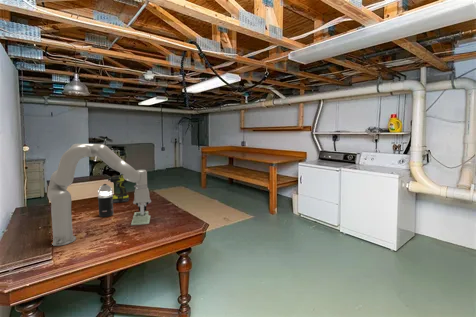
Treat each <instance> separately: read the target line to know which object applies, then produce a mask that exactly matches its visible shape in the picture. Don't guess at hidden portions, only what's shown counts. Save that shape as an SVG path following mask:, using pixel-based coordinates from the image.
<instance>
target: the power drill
mask: <svg viewBox="0 0 476 317" xmlns="http://www.w3.org/2000/svg"><path fill="white" fill-rule="evenodd" d="M107 180H108V182H109V181H110V183H113V184H114V185H115V187H116V188H119V194H114V195H113V204H120V203H124V204H125V203H128V202H129V200H130V197H129V194H127V189H126V187H125V184H127V183H128V182H129V181H127V180H125V179H124V178H123V174H120V175H112V176H110V177H109V178H107Z"/></svg>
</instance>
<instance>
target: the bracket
mask: <svg viewBox="0 0 476 317" xmlns="http://www.w3.org/2000/svg"><path fill="white" fill-rule="evenodd" d="M144 205H145V203H140V211H139V212H140V213H141V216H145V212H146V211H145V212H144Z"/></svg>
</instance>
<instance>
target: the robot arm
mask: <svg viewBox="0 0 476 317" xmlns="http://www.w3.org/2000/svg"><path fill="white" fill-rule="evenodd" d="M88 157H91V158H92V157H97V158H98V159H99V160H101V161H102V162H104V163H105V164H106V165H107V166H108V167H109V168H111V169H112V170H114V171H116V172H119V173H120V174H121V175H123V178H124V179H125V180H127V181H128V182H131V183H135V185H133V187H134V188H135V189H134V199H133V201H132V203H133V205H136V206H137V207H138V212H140V204H141V203H144V212H146V211H147V205H149V204H150V203H152V200H151V198H150V196H151V195H150V191H149V187H148V172H147V170H146V169H135V168H134V167H133V166H131V165H130V164H129V163H127V162H126V161H125V160H124V159H122V158H121V157H120V156H119V155H117V154H116V153H115V152H114V151H113V150H112V149H111V148H109V146H107V145H106V144H101V143H74V144H71V146H70V148H68V149H67V150H66V151H65V152H63V154H62V155H61V157H60V161H59V163H58V168H57V170H55V171H53V172H52V174H51V175H50V179H49V184H48V188H47V193H46V194H47V195H46V196H47V199H48V200H49V201H50V202H51V203H50V206H51V207H50V208H51V209H50V211H51V212H50V214H51V224H52V226H51V227H52V238H53V239H52V240H53V243H52V245H53V247H59V246H65V245H69V244H71V243H74V242H75V241H76V240H77V236H75V235H74V234H73V233H74V232H73V217H72V216H73V215H72V194H71V193H70V192H69V190H68V187H69V186H70V185H71V186H72V183H73V182H74V179H75V173H76V169H77V166H78V163H79V162H80V161H81V160H82V159H84V158H88ZM52 245H51V246H52Z"/></svg>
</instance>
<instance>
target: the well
mask: <svg viewBox="0 0 476 317" xmlns="http://www.w3.org/2000/svg"><path fill="white" fill-rule="evenodd" d="M150 220H151V215H149V211H148V210H145V216H141V213H140V211H136V212H135V211H134V214H133V216H132V219H131V223H130V226H140V225H149V224H150Z"/></svg>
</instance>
